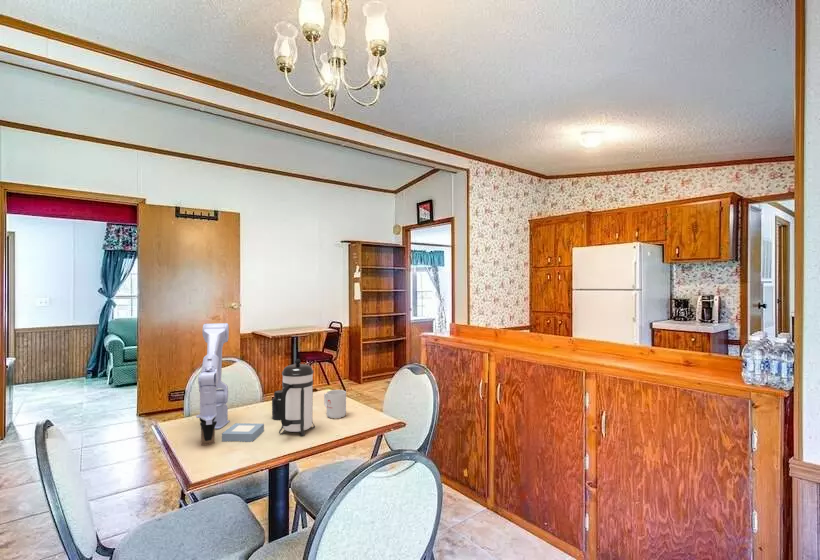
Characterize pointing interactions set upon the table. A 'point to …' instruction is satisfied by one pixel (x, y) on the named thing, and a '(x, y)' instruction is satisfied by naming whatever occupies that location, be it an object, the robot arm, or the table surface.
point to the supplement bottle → (276, 405)
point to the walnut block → (209, 440)
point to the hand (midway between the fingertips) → (207, 438)
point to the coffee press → (297, 398)
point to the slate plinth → (243, 432)
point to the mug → (335, 403)
